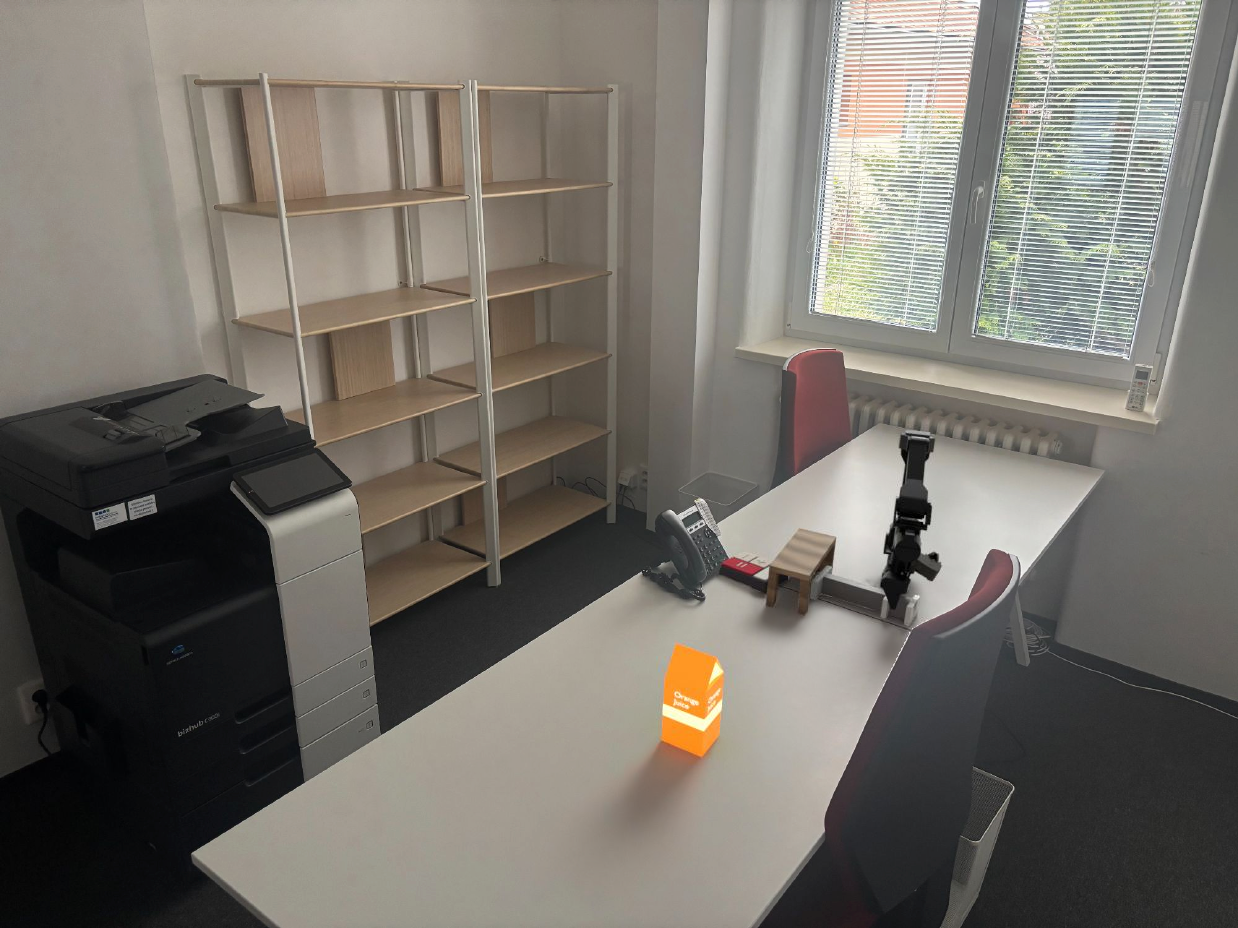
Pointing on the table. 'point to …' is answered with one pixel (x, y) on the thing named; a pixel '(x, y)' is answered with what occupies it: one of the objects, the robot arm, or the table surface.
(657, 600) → the table surface
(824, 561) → the wooden stool
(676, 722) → the orange juice
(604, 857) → the table surface
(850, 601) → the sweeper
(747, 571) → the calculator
